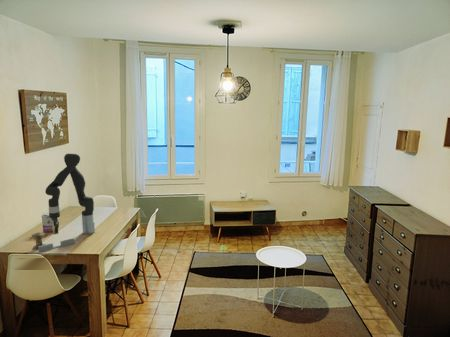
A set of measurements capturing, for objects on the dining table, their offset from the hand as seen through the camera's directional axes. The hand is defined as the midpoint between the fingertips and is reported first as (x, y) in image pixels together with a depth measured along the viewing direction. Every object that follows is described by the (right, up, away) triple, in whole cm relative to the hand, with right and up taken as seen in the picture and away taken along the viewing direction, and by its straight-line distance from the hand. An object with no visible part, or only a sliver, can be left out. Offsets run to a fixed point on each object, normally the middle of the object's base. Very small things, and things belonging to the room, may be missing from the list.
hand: (55, 231), depth 258 cm
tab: (0, -1, 0) cm, 1 cm away
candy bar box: (-23, -7, +35) cm, 42 cm away
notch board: (0, -13, +2) cm, 13 cm away
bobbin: (-14, -13, +1) cm, 19 cm away
